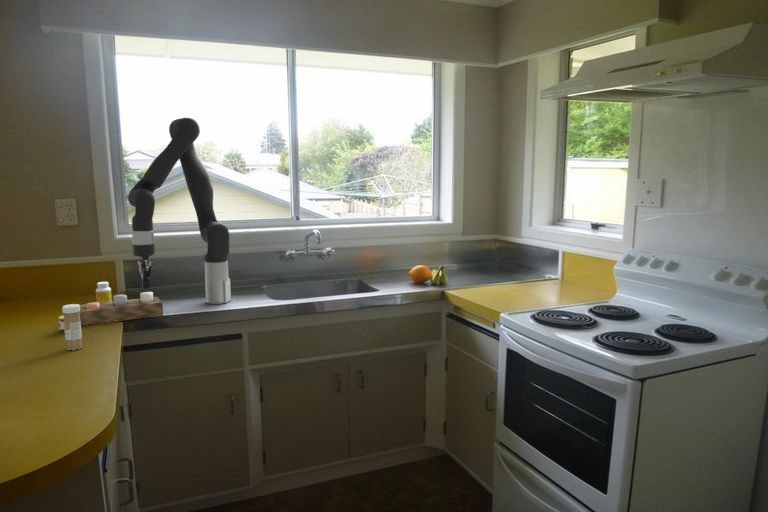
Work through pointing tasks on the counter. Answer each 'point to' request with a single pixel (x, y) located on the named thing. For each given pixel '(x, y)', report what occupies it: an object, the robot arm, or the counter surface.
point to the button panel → (121, 311)
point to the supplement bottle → (103, 292)
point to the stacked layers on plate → (61, 322)
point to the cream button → (146, 297)
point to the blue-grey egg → (120, 300)
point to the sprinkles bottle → (72, 326)
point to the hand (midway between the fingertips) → (145, 288)
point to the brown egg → (92, 305)
